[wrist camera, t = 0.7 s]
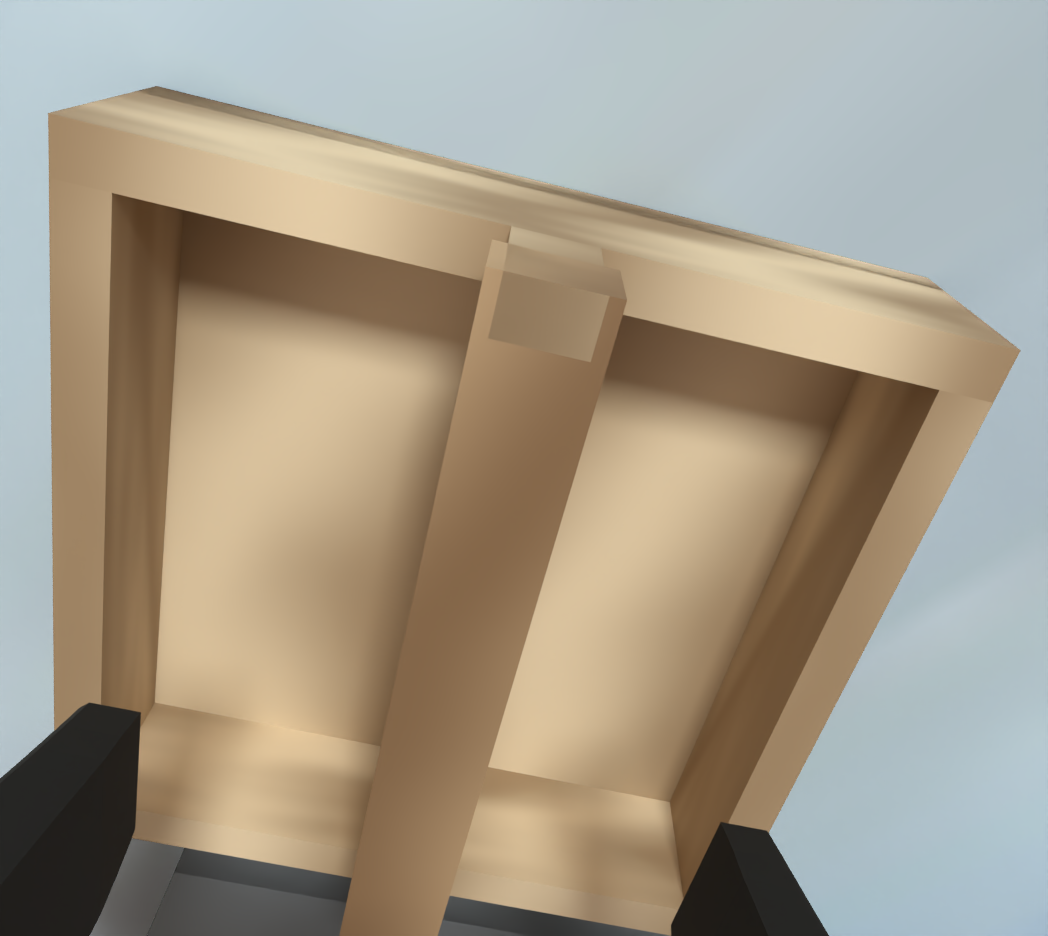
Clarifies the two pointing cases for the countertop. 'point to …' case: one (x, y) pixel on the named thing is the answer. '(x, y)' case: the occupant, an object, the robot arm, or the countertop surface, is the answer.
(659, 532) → the pine crate
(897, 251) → the countertop surface
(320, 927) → the charcoal crate
